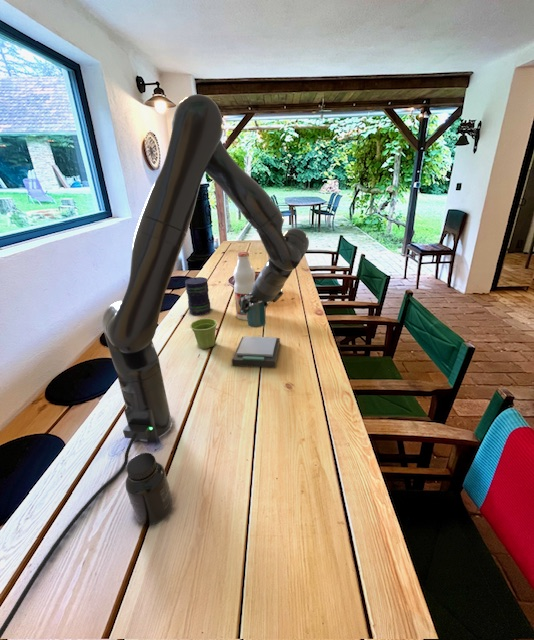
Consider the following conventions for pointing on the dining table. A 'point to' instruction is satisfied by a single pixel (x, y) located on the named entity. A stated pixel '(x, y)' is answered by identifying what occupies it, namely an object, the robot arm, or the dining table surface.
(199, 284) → the storage jar
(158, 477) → the supplement bottle
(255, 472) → the dining table surface
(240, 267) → the fruit juice
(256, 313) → the tumbler
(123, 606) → the dining table surface
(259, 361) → the scale
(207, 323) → the plant pot
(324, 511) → the dining table surface
